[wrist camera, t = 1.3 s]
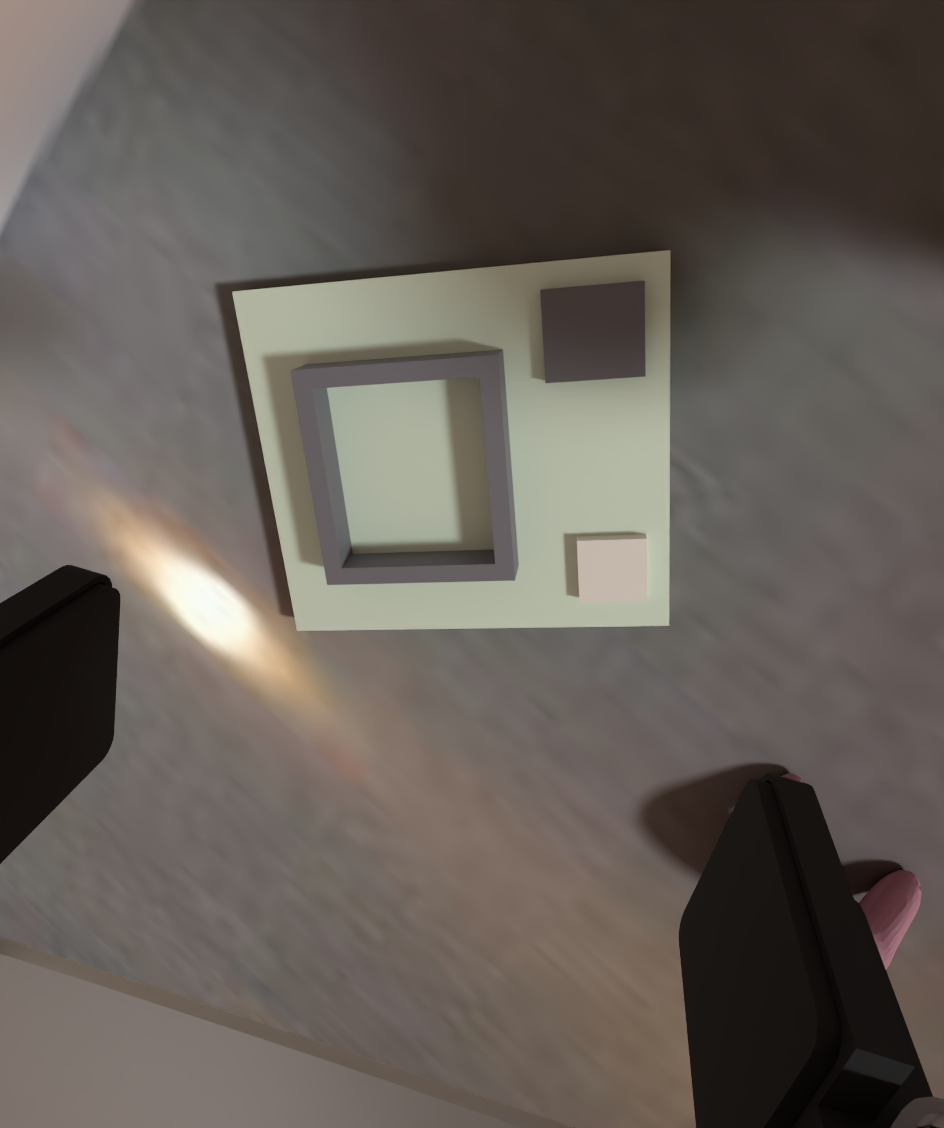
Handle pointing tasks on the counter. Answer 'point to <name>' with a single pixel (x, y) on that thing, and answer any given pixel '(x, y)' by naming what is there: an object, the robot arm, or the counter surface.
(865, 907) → the video game controller
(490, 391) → the socket board
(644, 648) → the counter surface
